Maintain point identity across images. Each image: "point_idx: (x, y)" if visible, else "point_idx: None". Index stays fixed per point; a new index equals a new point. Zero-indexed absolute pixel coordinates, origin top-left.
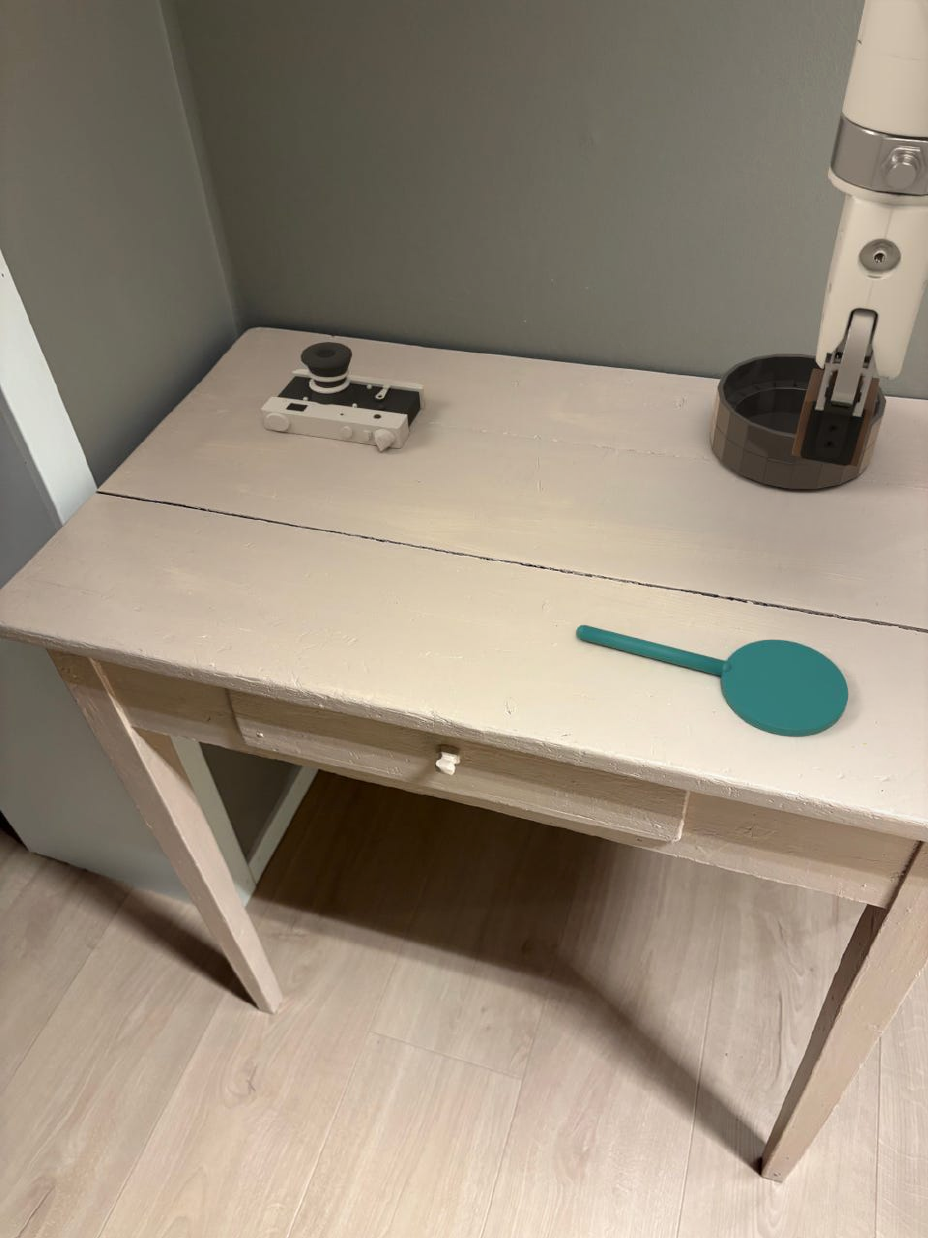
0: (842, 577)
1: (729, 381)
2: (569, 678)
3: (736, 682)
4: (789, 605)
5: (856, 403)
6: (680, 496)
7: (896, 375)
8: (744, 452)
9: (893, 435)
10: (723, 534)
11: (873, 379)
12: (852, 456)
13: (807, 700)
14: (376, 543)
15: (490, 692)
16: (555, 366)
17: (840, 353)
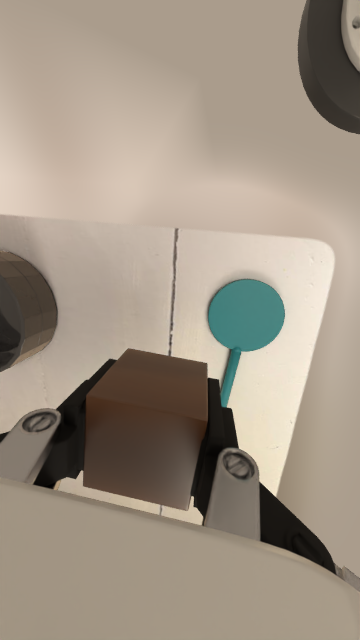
0: (135, 275)
1: None
2: (249, 422)
3: (249, 344)
4: (169, 309)
5: (322, 546)
6: (82, 371)
7: None
8: (38, 345)
9: None
10: (111, 347)
11: (92, 405)
12: (218, 385)
13: (259, 304)
14: (163, 511)
15: (264, 456)
16: None
17: (51, 481)
